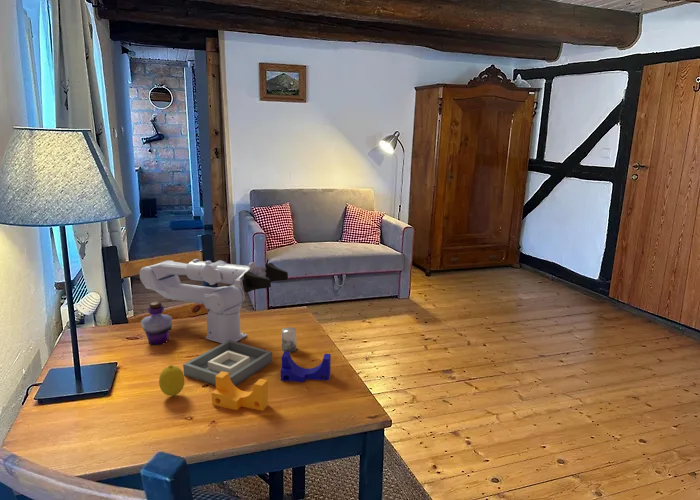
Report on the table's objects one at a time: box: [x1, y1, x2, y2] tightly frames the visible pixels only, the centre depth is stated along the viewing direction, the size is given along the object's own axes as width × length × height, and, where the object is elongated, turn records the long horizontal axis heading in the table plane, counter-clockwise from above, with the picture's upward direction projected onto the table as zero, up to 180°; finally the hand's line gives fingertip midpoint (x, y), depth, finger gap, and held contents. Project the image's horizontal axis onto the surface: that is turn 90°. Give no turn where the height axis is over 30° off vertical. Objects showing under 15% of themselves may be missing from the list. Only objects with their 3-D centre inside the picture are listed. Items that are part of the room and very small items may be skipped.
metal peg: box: [281, 326, 297, 354], centre depth 141 cm, size 4×4×6 cm
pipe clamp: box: [211, 371, 269, 412], centre depth 114 cm, size 12×4×6 cm, turn 71°
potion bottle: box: [140, 300, 173, 346], centre depth 145 cm, size 9×9×12 cm
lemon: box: [158, 364, 185, 398], centre depth 116 cm, size 6×6×8 cm
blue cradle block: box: [280, 351, 332, 383], centre depth 126 cm, size 12×4×6 cm, turn 85°
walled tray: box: [182, 340, 273, 387], centre depth 130 cm, size 15×17×3 cm
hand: (278, 279), depth 134 cm, fingers open, 7 cm apart
